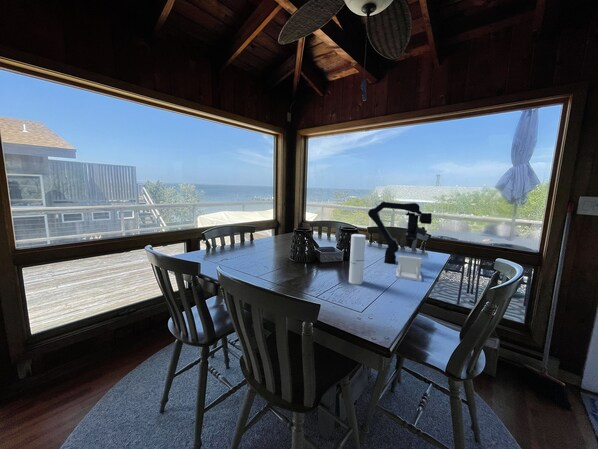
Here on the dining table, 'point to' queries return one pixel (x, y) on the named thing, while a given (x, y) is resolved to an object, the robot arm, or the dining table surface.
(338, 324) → the dining table surface
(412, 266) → the tile
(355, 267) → the cylindrical container
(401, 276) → the rack
